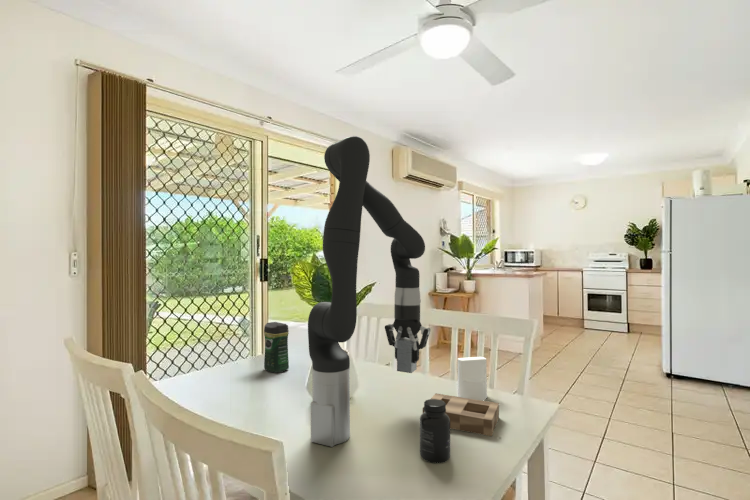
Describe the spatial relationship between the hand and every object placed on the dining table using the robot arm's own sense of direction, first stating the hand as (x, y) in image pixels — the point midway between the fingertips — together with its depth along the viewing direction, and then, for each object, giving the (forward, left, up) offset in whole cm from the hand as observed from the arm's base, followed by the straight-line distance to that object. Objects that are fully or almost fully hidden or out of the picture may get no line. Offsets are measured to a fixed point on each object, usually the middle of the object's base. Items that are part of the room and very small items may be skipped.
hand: (407, 361), depth 113 cm
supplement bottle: (-22, -15, -14) cm, 30 cm away
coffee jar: (+14, +60, -14) cm, 63 cm away
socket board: (-1, -16, -14) cm, 21 cm away
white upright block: (+18, -15, -14) cm, 28 cm away
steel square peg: (0, 0, -3) cm, 3 cm away
